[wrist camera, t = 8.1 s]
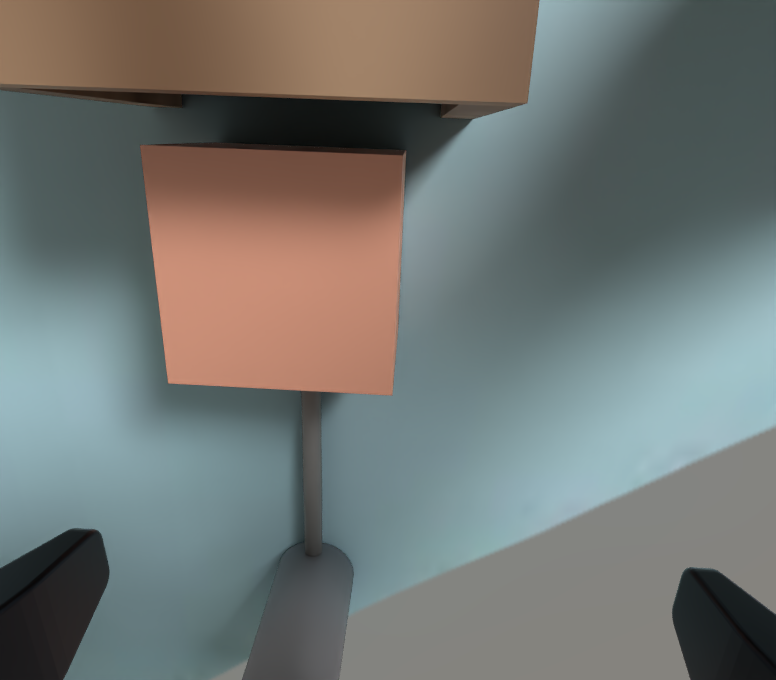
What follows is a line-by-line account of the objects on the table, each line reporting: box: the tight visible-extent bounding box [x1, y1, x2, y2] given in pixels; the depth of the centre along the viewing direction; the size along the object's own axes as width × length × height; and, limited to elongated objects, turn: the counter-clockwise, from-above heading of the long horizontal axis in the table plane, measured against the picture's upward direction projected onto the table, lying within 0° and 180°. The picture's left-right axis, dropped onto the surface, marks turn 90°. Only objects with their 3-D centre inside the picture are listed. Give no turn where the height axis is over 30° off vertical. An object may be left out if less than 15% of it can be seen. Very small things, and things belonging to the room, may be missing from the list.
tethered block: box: [140, 142, 406, 680], centre depth 17 cm, size 6×19×6 cm, turn 178°
